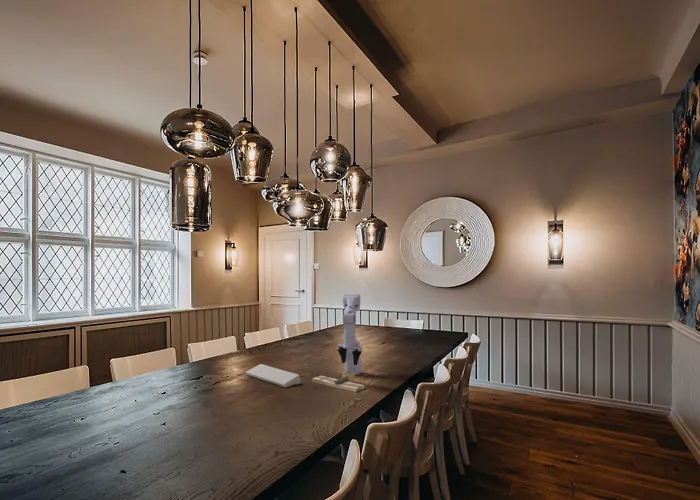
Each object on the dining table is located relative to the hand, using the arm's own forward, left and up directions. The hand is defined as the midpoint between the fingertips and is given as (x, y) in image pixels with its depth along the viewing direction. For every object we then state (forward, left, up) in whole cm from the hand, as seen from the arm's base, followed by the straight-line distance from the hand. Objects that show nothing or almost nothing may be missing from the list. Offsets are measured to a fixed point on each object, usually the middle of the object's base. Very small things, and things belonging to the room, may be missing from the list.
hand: (349, 363), depth 191 cm
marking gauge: (+4, 0, -10) cm, 10 cm away
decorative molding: (+20, -37, -10) cm, 43 cm away
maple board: (+7, -2, -9) cm, 12 cm away
